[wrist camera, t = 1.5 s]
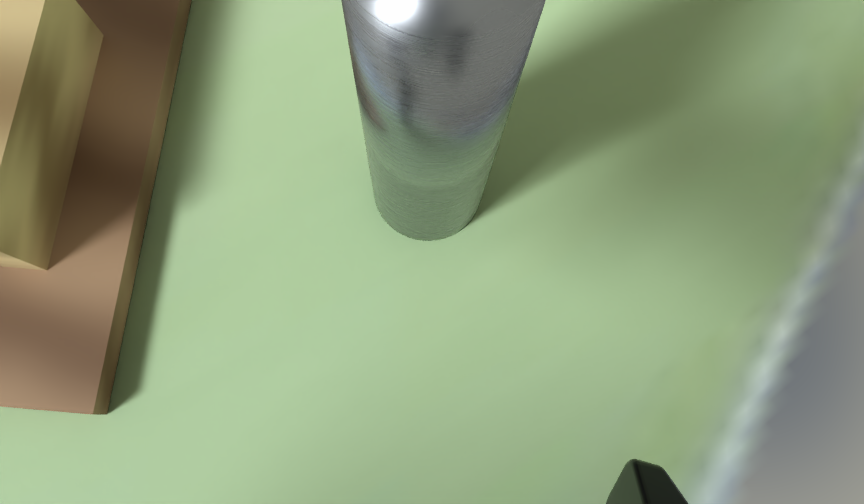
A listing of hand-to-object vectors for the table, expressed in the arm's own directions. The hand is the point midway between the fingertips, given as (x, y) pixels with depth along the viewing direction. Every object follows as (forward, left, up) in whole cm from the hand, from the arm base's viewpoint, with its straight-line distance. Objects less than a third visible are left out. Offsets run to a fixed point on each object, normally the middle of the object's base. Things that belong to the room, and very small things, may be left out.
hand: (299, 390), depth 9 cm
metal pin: (+8, -1, -14) cm, 16 cm away
